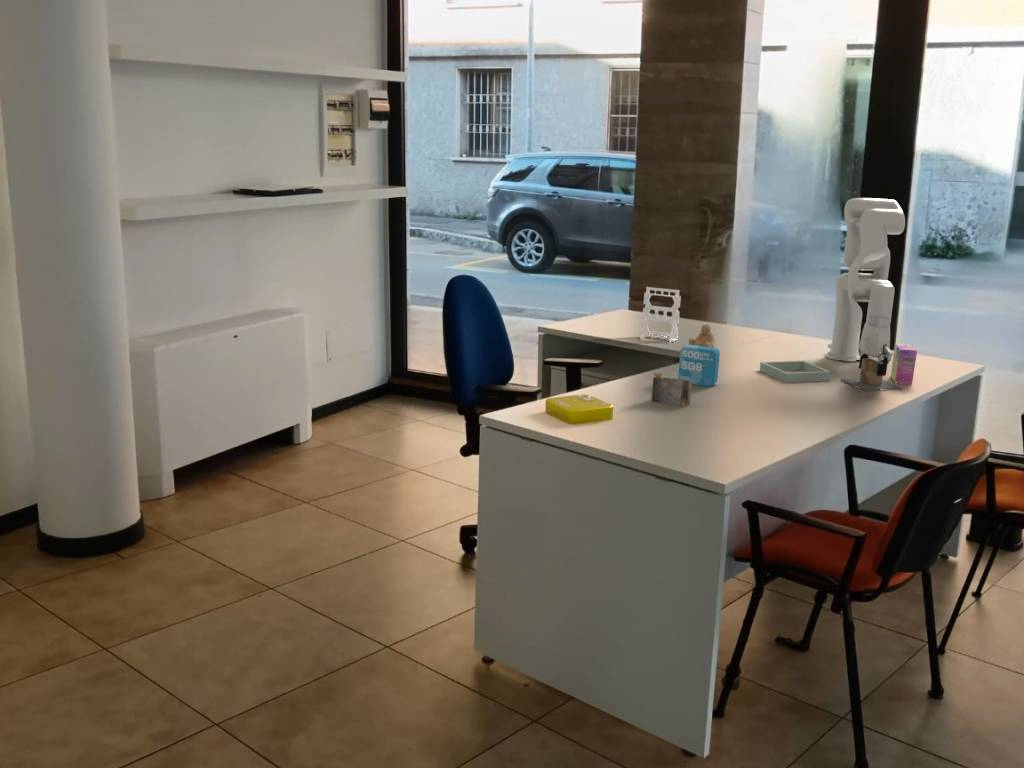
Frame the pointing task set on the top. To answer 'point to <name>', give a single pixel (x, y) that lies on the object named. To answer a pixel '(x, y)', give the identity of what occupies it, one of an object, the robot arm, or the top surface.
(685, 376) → the data package
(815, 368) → the green square frame
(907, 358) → the box
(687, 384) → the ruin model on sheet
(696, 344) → the statue
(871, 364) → the block
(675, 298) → the film strip holder
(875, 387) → the mat
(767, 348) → the top surface
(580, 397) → the element tile
